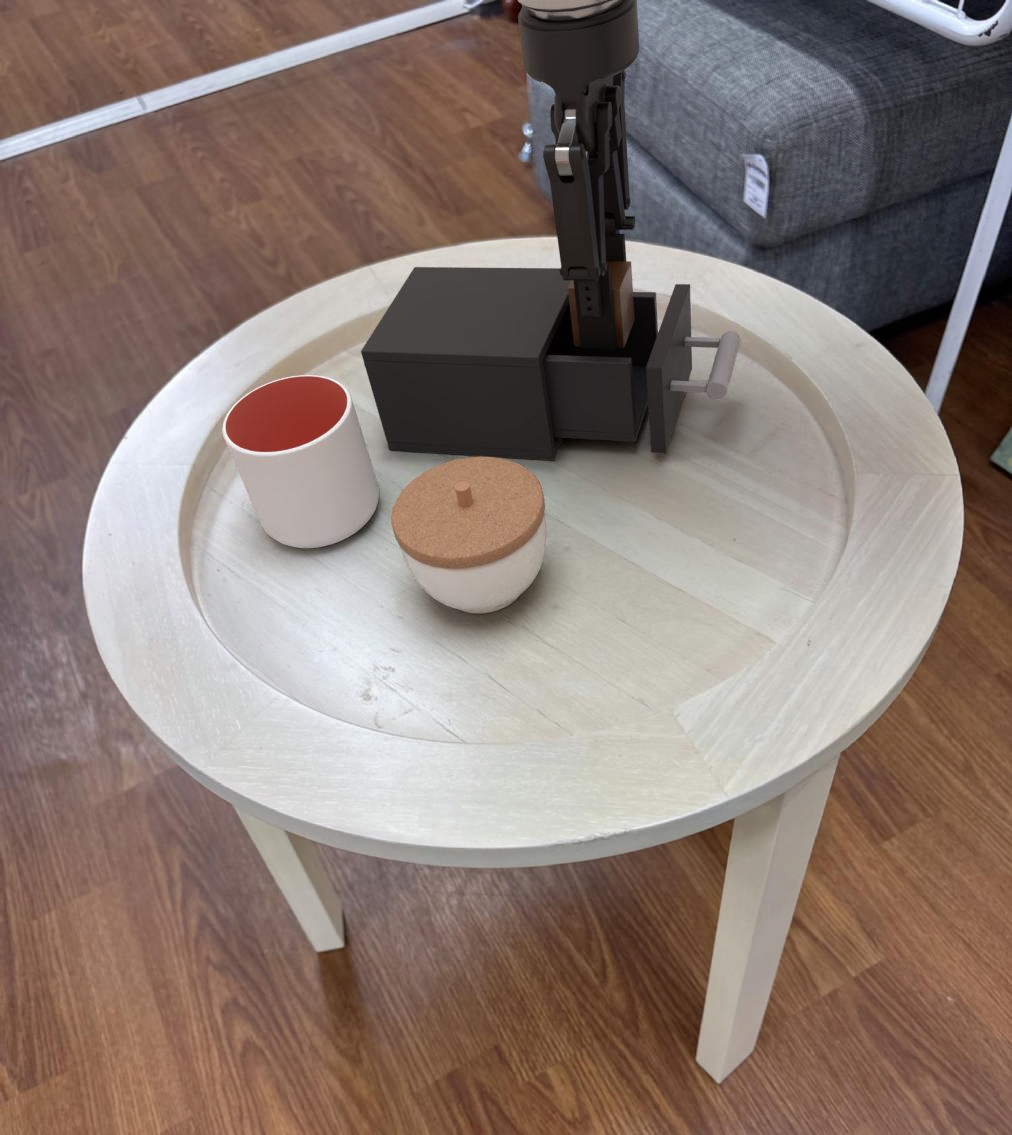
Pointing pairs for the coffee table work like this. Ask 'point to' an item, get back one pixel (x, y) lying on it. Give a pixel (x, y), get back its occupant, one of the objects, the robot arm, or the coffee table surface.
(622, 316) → the block
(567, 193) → the robot arm
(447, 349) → the dark drawer box
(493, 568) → the trinket box
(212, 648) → the coffee table surface
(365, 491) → the cup
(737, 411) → the coffee table surface
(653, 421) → the pull-out drawer
